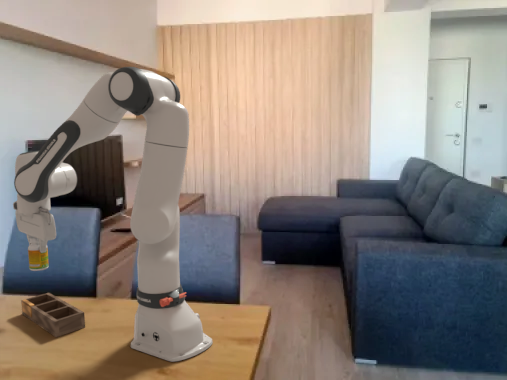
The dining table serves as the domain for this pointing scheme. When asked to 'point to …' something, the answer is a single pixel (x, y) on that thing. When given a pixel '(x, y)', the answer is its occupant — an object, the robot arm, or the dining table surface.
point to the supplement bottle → (37, 256)
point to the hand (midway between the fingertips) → (37, 250)
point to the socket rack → (53, 314)
